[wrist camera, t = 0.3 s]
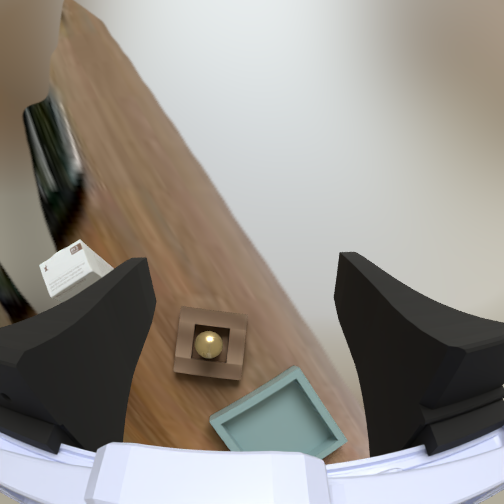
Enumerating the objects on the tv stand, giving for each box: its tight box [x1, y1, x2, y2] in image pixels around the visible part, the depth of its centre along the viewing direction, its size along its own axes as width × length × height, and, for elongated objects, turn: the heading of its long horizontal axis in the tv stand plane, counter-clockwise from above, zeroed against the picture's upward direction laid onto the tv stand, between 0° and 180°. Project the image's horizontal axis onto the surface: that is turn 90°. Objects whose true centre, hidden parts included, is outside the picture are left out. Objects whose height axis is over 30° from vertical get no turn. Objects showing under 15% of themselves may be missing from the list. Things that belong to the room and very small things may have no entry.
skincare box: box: [39, 240, 114, 302], centre depth 33 cm, size 6×4×12 cm
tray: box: [209, 365, 347, 459], centre depth 35 cm, size 13×13×3 cm
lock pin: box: [195, 331, 223, 358], centre depth 36 cm, size 3×3×7 cm
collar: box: [174, 306, 248, 380], centre depth 38 cm, size 8×8×2 cm
